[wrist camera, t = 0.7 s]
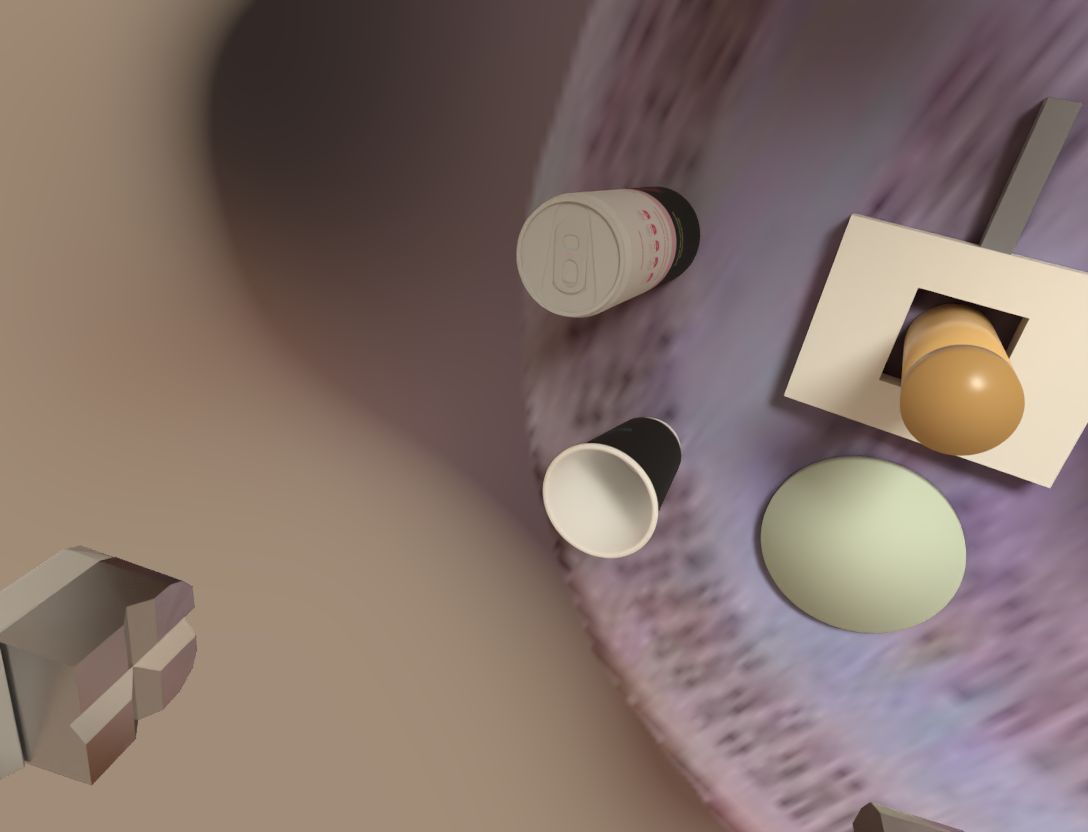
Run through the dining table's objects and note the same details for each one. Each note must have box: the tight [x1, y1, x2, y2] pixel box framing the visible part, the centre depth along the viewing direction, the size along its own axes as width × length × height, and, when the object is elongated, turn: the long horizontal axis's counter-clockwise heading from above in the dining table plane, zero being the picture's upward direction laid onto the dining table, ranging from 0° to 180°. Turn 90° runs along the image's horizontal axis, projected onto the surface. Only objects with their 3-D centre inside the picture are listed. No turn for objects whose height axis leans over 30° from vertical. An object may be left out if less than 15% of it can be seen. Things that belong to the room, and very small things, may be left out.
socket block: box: [784, 97, 1088, 488], centre depth 43 cm, size 16×20×2 cm
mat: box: [761, 456, 966, 633], centre depth 51 cm, size 13×13×1 cm
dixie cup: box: [543, 417, 681, 558], centre depth 51 cm, size 8×8×11 cm
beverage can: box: [517, 187, 700, 318], centre depth 45 cm, size 6×7×15 cm
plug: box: [900, 304, 1025, 456], centre depth 39 cm, size 5×5×14 cm
